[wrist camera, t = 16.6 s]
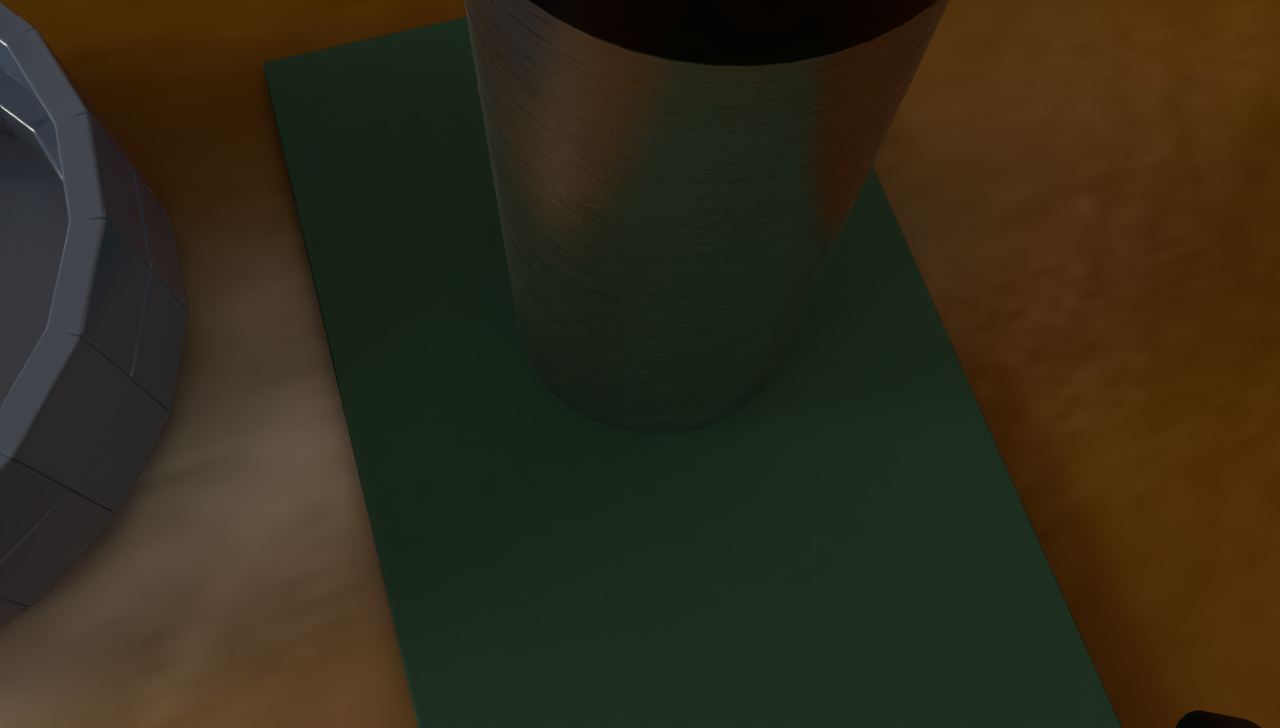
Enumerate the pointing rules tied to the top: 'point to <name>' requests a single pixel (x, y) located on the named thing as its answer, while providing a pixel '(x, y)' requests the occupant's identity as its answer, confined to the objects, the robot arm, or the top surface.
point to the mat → (655, 467)
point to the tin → (679, 181)
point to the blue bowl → (73, 318)
